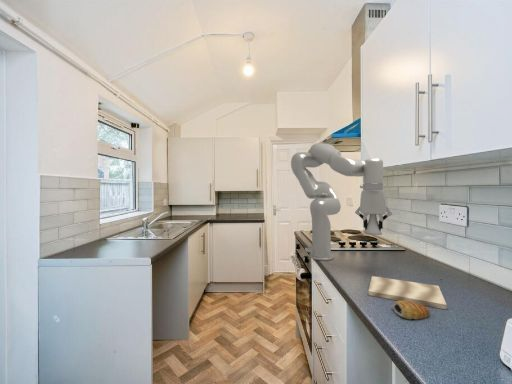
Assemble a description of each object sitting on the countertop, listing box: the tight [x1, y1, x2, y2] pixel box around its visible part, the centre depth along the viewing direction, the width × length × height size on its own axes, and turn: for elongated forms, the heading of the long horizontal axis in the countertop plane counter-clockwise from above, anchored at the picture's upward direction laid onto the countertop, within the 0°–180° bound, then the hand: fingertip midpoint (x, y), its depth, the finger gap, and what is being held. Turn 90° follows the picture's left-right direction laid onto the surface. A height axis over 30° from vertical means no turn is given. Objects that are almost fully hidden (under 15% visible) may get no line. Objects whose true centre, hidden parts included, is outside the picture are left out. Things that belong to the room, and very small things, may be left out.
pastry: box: [392, 300, 431, 320], centre depth 75 cm, size 9×7×4 cm
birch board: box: [368, 275, 448, 311], centre depth 89 cm, size 22×16×2 cm
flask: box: [363, 214, 383, 236], centre depth 108 cm, size 7×7×10 cm
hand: (372, 229), depth 108 cm, fingers closed on flask, 4 cm apart
